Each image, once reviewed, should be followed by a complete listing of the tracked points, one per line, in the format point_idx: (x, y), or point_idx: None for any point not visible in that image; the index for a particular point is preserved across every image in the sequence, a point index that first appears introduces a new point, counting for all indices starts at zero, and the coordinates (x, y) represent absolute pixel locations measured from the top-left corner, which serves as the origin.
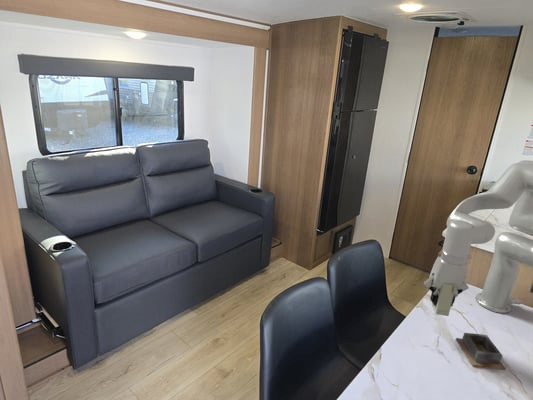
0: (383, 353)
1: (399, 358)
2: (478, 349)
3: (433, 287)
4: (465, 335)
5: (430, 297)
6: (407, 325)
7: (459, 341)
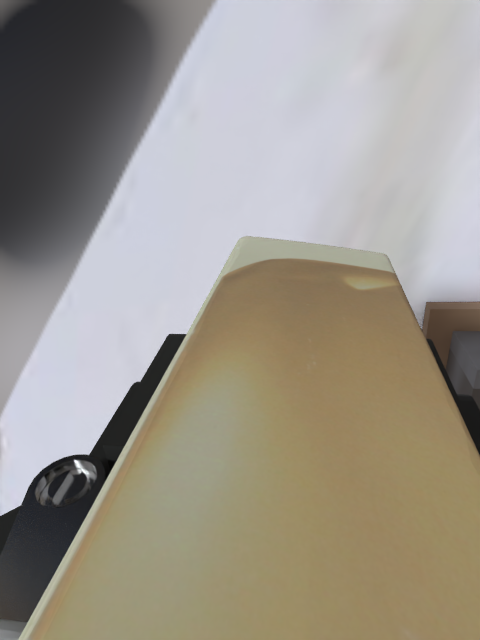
0: (7, 431)
1: (72, 449)
2: None
3: (33, 564)
4: (470, 383)
5: (129, 390)
6: (131, 210)
7: (431, 338)
